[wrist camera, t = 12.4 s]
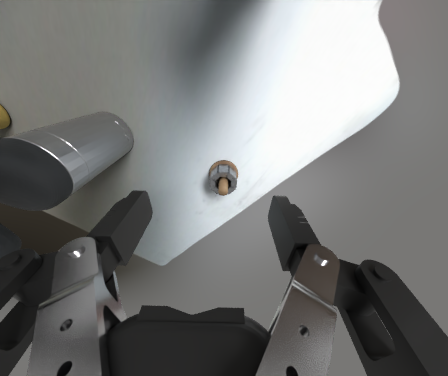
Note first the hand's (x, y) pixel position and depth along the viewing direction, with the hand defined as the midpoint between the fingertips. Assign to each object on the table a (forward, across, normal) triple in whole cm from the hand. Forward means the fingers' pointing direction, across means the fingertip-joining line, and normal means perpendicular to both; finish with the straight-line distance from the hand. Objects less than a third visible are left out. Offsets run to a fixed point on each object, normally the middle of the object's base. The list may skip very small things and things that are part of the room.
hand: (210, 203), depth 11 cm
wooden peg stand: (+28, -1, +13) cm, 30 cm away
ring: (+26, -1, +13) cm, 29 cm away
